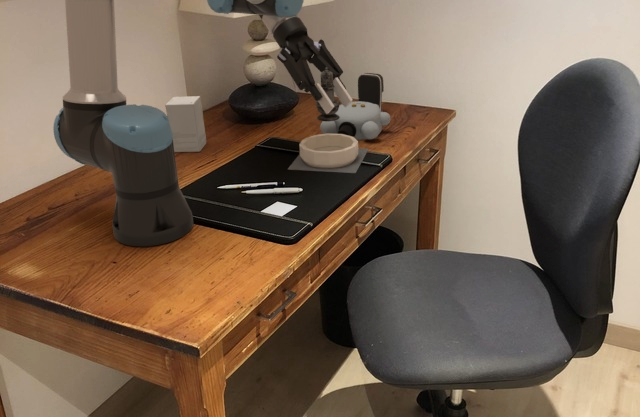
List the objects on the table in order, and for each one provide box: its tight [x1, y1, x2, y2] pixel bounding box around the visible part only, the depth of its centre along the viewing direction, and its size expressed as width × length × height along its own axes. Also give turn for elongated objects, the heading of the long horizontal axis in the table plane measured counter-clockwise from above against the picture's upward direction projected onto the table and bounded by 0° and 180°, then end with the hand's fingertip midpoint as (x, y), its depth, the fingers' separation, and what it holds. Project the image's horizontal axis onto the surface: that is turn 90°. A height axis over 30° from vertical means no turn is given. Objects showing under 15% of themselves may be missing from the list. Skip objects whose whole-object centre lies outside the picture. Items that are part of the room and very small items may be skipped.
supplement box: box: [164, 95, 207, 153], centre depth 170 cm, size 7×7×13 cm
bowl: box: [298, 133, 359, 168], centre depth 158 cm, size 13×13×4 cm
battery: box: [357, 72, 384, 112], centre depth 190 cm, size 7×4×11 cm, turn 61°
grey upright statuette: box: [314, 67, 342, 122], centre depth 153 cm, size 6×6×12 cm
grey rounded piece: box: [319, 100, 391, 141], centre depth 174 cm, size 17×8×20 cm
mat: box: [287, 147, 369, 174], centre depth 159 cm, size 16×16×1 cm
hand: (339, 106), depth 152 cm, fingers closed on grey upright statuette, 5 cm apart
